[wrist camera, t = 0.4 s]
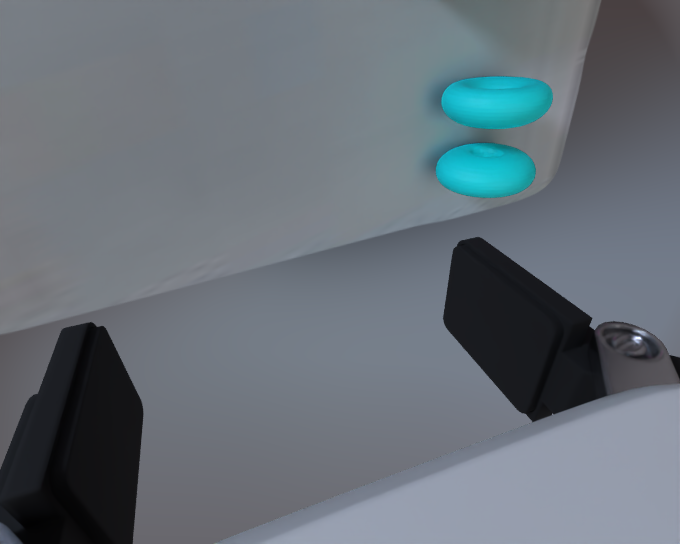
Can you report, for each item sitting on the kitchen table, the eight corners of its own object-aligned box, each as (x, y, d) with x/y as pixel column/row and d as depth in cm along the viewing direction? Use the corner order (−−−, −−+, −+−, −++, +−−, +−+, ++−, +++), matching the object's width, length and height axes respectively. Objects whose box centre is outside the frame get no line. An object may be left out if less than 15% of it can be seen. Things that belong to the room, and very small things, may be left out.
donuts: (418, 176, 45) (469, 210, 37) (423, 81, 40) (485, 97, 32) (491, 162, 48) (554, 191, 40) (506, 71, 42) (582, 83, 34)
